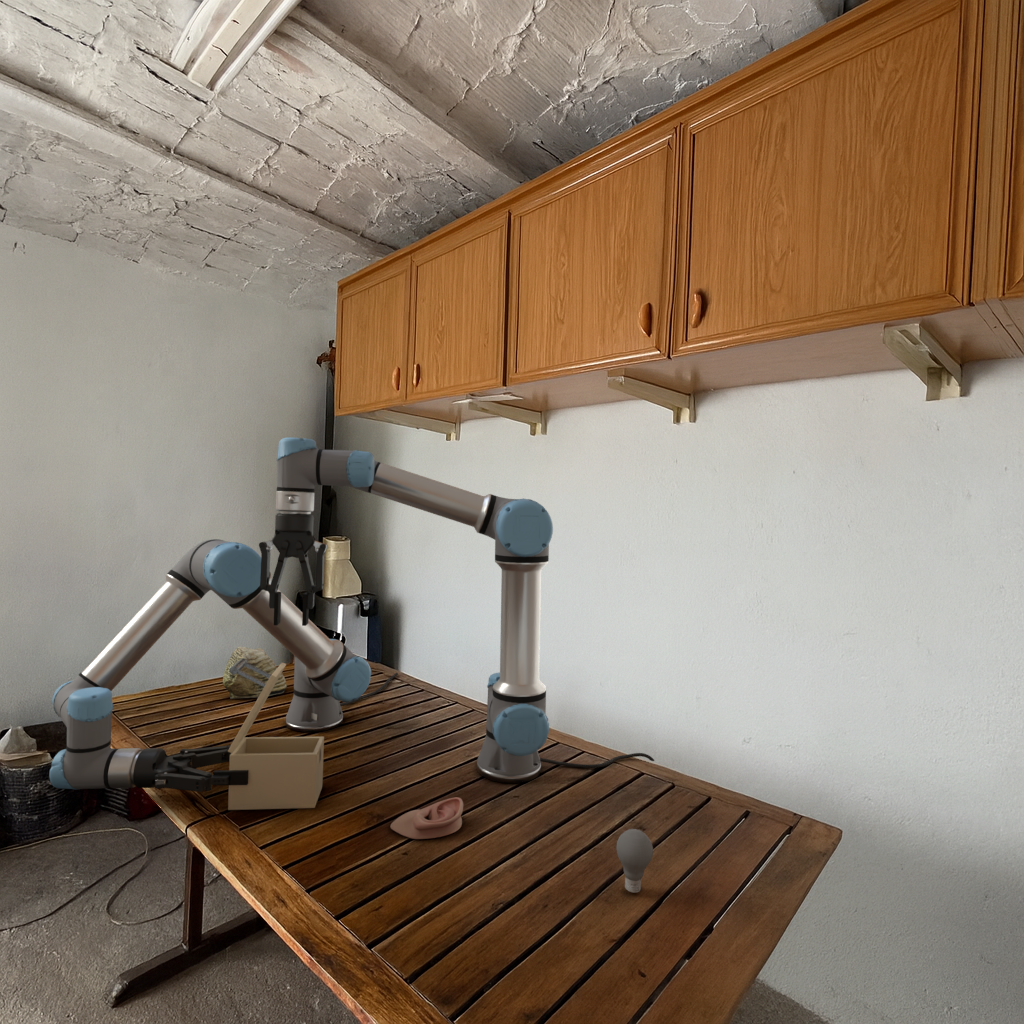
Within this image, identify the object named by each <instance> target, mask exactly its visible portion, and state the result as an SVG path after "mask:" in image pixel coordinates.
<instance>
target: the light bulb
mask: <svg viewBox="0 0 1024 1024" xmlns="http://www.w3.org/2000/svg"><path fill="white" fill-rule="evenodd" d="M615 849H616V854H617V857H618V859H619V861H620V863H621V865H622V867H623V873H624V874H623V875H624V876H625V878H624V888H625V890H627V891H628V892H630V893H634V894H635V893H639V892H640V891H641V889H642V887H641V886H642V879H643V877H644V875H645V871H646V868H647V867H648V866H649V864H650V863H651V861H652V859H653V855H654V847H653V843H652V841H651V838H649V836H648V835H647V834H646V833H645V832H643V831H642V830H641V829H636V828H629V829H627V830H625V831H623V832H622V833H621V834H620V835H619V837H618V839H617V841H616V847H615Z"/></svg>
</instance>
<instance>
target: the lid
mask: <svg viewBox="0 0 1024 1024" xmlns="http://www.w3.org/2000/svg"><path fill="white" fill-rule="evenodd" d="M244 666H245V667H247V668H249V669H251V670H253V671H255V672H257V673H259V674H261V675H263V676H265V677H267V678H269V680H268V682H267V683H265V682H263V681H261V680H259V679H257V678H255V677H253V676H251V675H249V674H247V673H245V672H243V671H241V669H242V668H243V667H244ZM286 666H287V664H286V663H284V662H282V661H281V663H280V664H279V665H278V667H276V668H277V669H276V670H275V671H274V672H273V674H272V675H271V674H269V673H267V672H265V671H263V670H261V669H259V668H257V667H255V666H253V665H251V664H249V663H247V660H246V659H245V658H241V659H240V660H239V661H238V662H237V663H235V664H234V665H233V666H232V667H231V668H230V670H229V671H230V673H231V674H233V675H235V674H239V675H241V676H243V677H245V678H247V679H249V680H251V681H253V682H255V683H257V684H259V685H261V686H263V687H264V689H263V690H262V692H261V694H260V696H259V697H257V699H256V701H255V703H254V704H253V706H252V708H251V709H250V711H249V713H248V715H247V717H246V718H245V720H244V722H243V724H242V725H241V727H240V729H239V730H238V732H237V734H236V736H235V738H234V739H233V740H232V742H231V744H230V748H229V750H228V752H230V753H233V752H234V750H235V749H236V748H237V747H238V745H239V744H240V743H241V741H242V740H243V739H244V737H246V736H247V735H248V733H249V732H250V731H249V730H250V729H251V727H252V725H253V724H254V722H255V720H256V718H258V715H259V713H260V712H261V710H262V708H263V707H264V704H265V703H266V702H267V699H268V697H270V696H269V694H270V692H271V691H272V689H273V687H274V685H275V684H276V682H277V680H278V678H279V677H280V675H281V673H282V674H283V671H284V670H285V668H286Z"/></svg>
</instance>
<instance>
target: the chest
mask: <svg viewBox="0 0 1024 1024" xmlns="http://www.w3.org/2000/svg"><path fill="white" fill-rule="evenodd" d="M324 749H325V736H259V737H258V736H251V737H250V736H249V737H248V736H247V737H246V736H245V737H244V739H243V740H242V741H241V743H240V744H239V745H238V747H237V748H236V749H235V750H234V752H233V753H231V754H230V764H229V763H228V765H229V767H228V768H229V769H228V770H249V772H248V784H247V785H228V798H227V799H228V801H227V810H228V811H241V810H246V811H247V810H283V809H284V810H286V809H290V810H291V809H315V808H316V805H317V804H318V800H319V798H320V794H321V791H322V789H323V782H324V780H323V779H324Z"/></svg>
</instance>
